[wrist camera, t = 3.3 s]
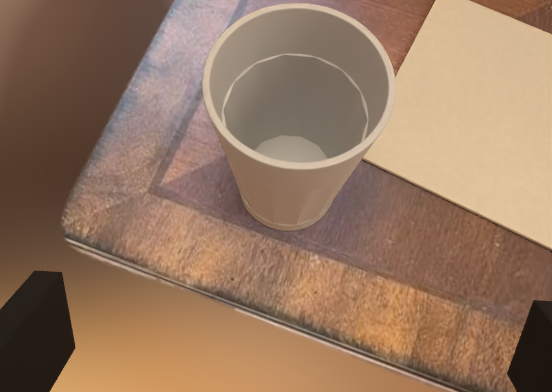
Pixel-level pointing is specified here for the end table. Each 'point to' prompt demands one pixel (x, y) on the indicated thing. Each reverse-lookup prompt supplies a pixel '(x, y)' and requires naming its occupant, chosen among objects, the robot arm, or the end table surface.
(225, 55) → the cup
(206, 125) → the end table surface
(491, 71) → the napkin
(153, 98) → the end table surface
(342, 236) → the end table surface
